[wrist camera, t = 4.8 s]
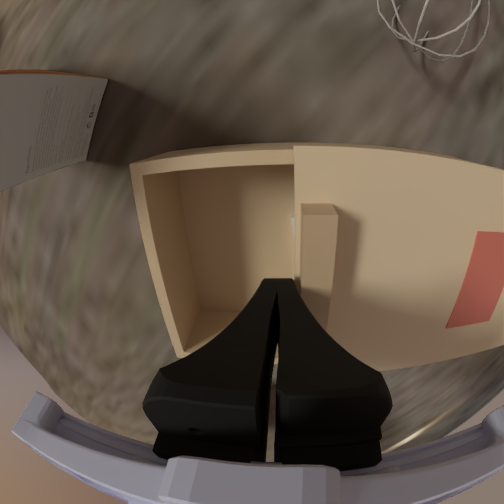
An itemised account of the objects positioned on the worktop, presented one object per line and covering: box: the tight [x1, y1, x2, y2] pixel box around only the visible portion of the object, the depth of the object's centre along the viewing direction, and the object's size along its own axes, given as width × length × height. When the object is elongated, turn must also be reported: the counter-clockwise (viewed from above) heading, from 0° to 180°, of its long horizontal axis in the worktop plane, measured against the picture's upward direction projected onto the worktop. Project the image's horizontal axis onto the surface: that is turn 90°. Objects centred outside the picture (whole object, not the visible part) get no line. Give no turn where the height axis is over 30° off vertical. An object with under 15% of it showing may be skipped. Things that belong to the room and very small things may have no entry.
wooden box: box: [129, 142, 466, 364], centre depth 15 cm, size 12×18×5 cm, turn 93°
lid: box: [293, 145, 504, 371], centre depth 10 cm, size 12×18×2 cm
